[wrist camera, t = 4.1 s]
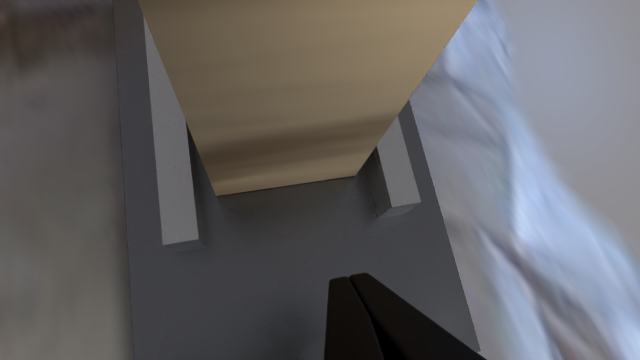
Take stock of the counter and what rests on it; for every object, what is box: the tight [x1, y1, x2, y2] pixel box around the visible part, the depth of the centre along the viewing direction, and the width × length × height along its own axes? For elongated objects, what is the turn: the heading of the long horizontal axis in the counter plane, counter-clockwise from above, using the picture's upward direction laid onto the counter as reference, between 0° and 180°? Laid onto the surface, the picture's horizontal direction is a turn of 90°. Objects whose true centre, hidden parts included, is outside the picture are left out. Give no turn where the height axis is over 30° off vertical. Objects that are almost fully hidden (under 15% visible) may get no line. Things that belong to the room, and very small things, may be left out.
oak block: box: [138, 0, 478, 196], centre depth 12 cm, size 6×6×12 cm
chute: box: [113, 0, 481, 360], centre depth 18 cm, size 22×13×4 cm, turn 11°
